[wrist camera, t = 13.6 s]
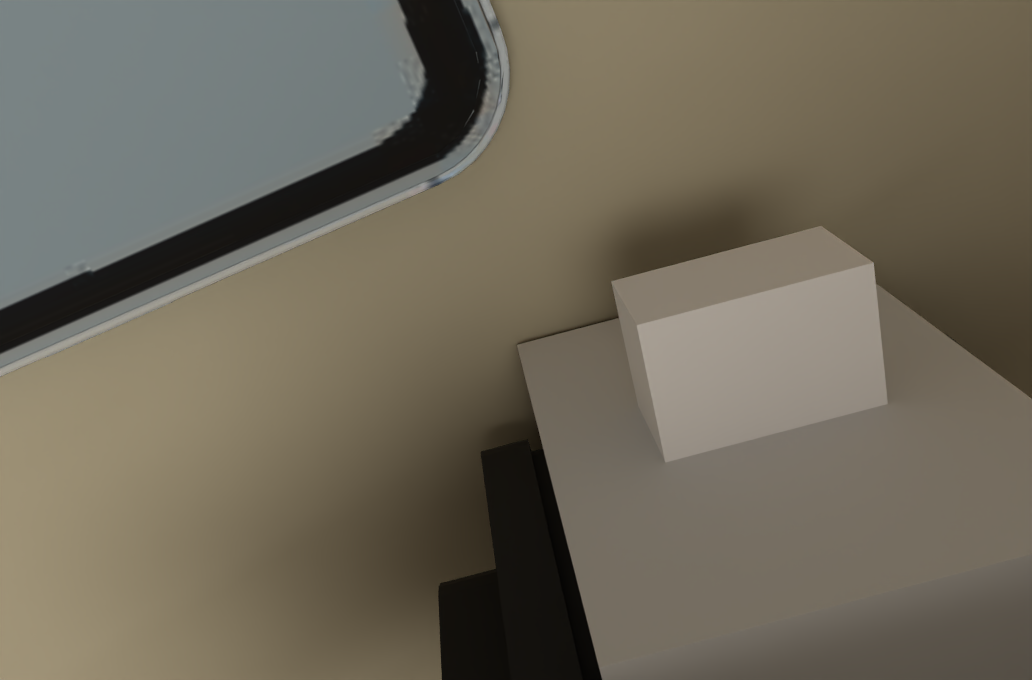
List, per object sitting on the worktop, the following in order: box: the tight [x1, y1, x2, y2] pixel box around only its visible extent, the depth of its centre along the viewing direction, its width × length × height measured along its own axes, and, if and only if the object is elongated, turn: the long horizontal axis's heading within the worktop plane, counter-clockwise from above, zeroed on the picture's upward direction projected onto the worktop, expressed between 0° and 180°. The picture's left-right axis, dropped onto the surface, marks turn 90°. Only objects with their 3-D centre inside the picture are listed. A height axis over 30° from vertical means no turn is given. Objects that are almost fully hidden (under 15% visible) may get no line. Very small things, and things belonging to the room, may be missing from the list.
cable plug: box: [517, 226, 1032, 680], centre depth 9 cm, size 4×6×5 cm, turn 14°
